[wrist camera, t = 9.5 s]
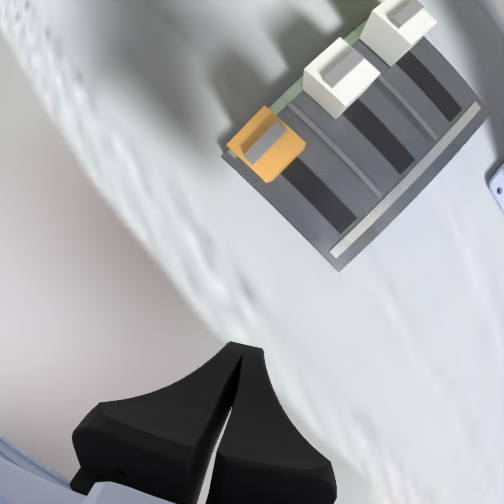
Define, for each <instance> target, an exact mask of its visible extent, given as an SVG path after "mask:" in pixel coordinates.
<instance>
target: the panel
mask: <svg viewBox="0 0 504 504" xmlns="http://www.w3.org/2000/svg"><path fill="white" fill-rule="evenodd" d="M368 18H369V17H368ZM368 18H367V19H365V20H364V21H363V22H362V23H360V24H359V25H358V26H357V27H356V28H354V29H353V30H352V31H351V32H350V33H348V34H347V35H346V36H345V37H344V38H343V40H344V41H345V42H347V43H348V44H349V45H350V46H351V47H352V48H354V49H355V50H356V51H358V52H359V53H360V54H361V55H362V56H363V57H364V58H365V59H366V60H367V61H368V62H369V63H370V64H372V65H373V66H374V67H375V68H376V69H377V70H378V71H379V72H380V74H379V76H378V77H377V78H376V79H375V80H374V81H373V82H372V84H371V85H370V86H369V87H368V88H367V89H366V90H365V92H364V93H363V94H362V95H360V96H359V97H358V98H357V99H356V100H355V101H354V102H353V103H352V104H351V105H350V106H349V107H348V108H347V109H346V110H345V111H344V112H343V113H342V114H341V115H340V116H339V117H338V118H337V119H336V120H335V119H334V118H333V117H332V116H331V115H330V114H329V113H328V112H327V111H326V110H325V109H324V108H323V107H322V106H320V105H319V104H318V103H317V102H316V101H315V100H314V99H313V98H312V97H311V96H309V95H308V94H307V93H306V92H305V91H304V90H303V77H304V73H303V74H302V75H301V76H300V77H299V78H298V79H297V80H296V81H295V82H294V83H293V84H292V85H291V86H290V87H289V88H288V89H287V90H285V91H284V92H283V93H282V94H281V95H280V96H279V97H278V98H277V99H276V100H275V101H274V102H273V103H272V104H271V105H270V106H269V107H268V109H270V110H271V111H272V112H273V113H274V114H275V115H276V116H277V117H279V118H280V119H281V120H282V121H283V122H284V123H285V124H286V125H287V126H288V127H290V128H291V129H292V130H293V131H294V132H295V133H296V134H297V135H298V136H299V137H300V138H301V139H302V140H303V141H304V142H305V143H306V145H305V148H304V150H303V151H302V152H301V153H300V154H299V155H298V156H297V157H296V158H295V159H294V160H293V161H292V162H291V163H290V164H289V165H288V166H287V167H286V168H285V169H284V170H283V171H282V172H281V173H280V174H279V175H278V176H277V177H276V178H275V179H274V180H273V181H271V182H268V183H266V182H265V181H264V180H263V179H262V178H261V177H260V176H259V175H258V174H257V173H255V172H254V171H253V170H252V169H251V168H250V167H249V166H248V165H247V164H246V163H245V162H244V161H243V160H242V159H241V158H240V157H238V156H237V155H236V154H235V153H234V152H233V151H232V150H231V149H230V148H228V149H227V151H226V152H225V153H224V154H223V155H222V156H221V157H222V158H223V159H224V160H225V161H226V162H227V163H228V164H229V165H230V166H231V167H232V168H234V169H235V170H236V171H237V172H238V173H239V174H240V175H241V176H242V177H243V178H244V179H245V180H246V181H247V182H248V183H249V184H250V185H251V186H252V187H254V188H255V189H256V190H257V191H258V192H259V193H260V194H261V195H262V196H263V197H264V198H265V199H266V200H267V201H268V202H269V203H270V204H271V205H272V206H273V207H274V208H275V209H276V210H277V211H278V212H279V213H280V214H281V215H282V216H283V217H284V218H285V219H286V220H287V221H288V222H289V223H290V224H291V225H292V226H293V227H294V228H295V229H296V230H297V231H298V232H299V233H300V234H301V235H302V236H303V237H304V238H305V239H306V240H307V241H308V242H309V243H310V244H311V245H312V246H313V247H314V248H315V249H316V250H317V251H318V252H319V253H320V254H321V255H322V256H323V257H324V258H325V259H326V260H327V261H328V262H329V263H330V264H331V265H332V266H333V267H334V268H335V269H336V270H337V271H338V272H340V271H341V270H342V269H343V268H344V267H345V266H346V265H347V264H348V263H349V262H350V261H352V260H353V259H354V258H355V257H356V256H357V255H358V254H359V253H360V252H361V251H362V250H363V249H364V248H365V247H366V246H367V245H368V244H369V243H370V242H372V241H373V240H374V239H375V238H376V237H377V236H378V235H379V234H380V233H381V232H382V231H383V230H384V229H385V228H386V227H387V226H388V225H389V224H390V223H391V222H392V221H393V220H394V219H395V218H396V217H397V216H398V215H399V214H400V213H401V212H402V211H403V210H404V209H405V208H406V207H407V206H408V205H409V204H410V203H411V202H412V201H413V200H414V199H415V198H416V197H417V195H418V194H419V193H420V192H421V191H422V190H423V189H424V188H425V187H426V186H427V185H428V184H429V183H430V182H431V181H432V180H433V179H434V178H435V176H436V175H437V174H438V173H439V172H440V171H441V170H442V169H443V168H444V167H445V166H446V165H447V163H448V162H449V161H450V160H451V159H452V158H453V157H454V156H455V155H456V153H457V152H458V151H459V150H460V149H461V148H462V147H463V146H464V144H465V143H466V142H467V141H468V140H469V139H470V138H471V136H472V135H473V134H474V133H475V132H476V131H477V129H478V128H479V127H480V126H481V125H482V123H483V122H484V121H485V120H486V119H487V117H488V116H489V115H490V112H489V111H488V110H487V108H486V107H485V106H484V104H483V103H482V102H481V100H480V99H479V98H478V96H477V95H476V94H475V93H474V91H473V90H472V89H471V88H470V86H469V85H468V84H467V83H466V81H465V80H464V79H463V78H462V77H461V76H460V74H459V73H458V72H457V71H456V70H455V69H454V67H453V66H452V65H451V64H450V63H449V62H448V61H447V60H446V59H445V58H444V56H443V55H442V54H441V53H440V52H439V51H438V50H437V49H436V48H435V47H434V46H433V45H432V44H431V43H430V42H429V41H428V40H427V39H426V38H425V37H424V36H423V37H422V38H421V39H420V40H419V41H418V42H417V43H416V44H415V45H414V46H413V47H412V48H411V49H410V50H409V51H408V52H406V53H405V54H404V55H403V56H402V57H401V58H400V59H399V60H398V61H397V62H396V63H395V64H393V65H392V66H391V67H390V66H389V65H388V64H387V63H386V62H385V61H384V60H383V59H382V58H381V57H380V56H379V55H377V54H376V53H375V52H374V51H373V50H372V49H371V48H370V47H369V46H367V45H366V44H365V43H364V42H363V41H362V40H361V39H359V38H360V35H361V33H362V31H363V29H364V27H365V25H366V23H367V20H368Z"/></svg>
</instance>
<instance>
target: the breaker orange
mask: <svg viewBox="0 0 504 504" xmlns="http://www.w3.org/2000/svg"><path fill="white" fill-rule="evenodd" d="M305 145H306V143H305V142H304V141H303V140H302V139H301V138H300V137H299V136H298V135H297V134H296V133H295V132H294V131H293V130H292V129H291V128H290V127H288V126H287V125H286V124H285V123H284V122H283V121H282V120H281V119H280V118H279V117H277V116H276V115H275V114H274V113H273V112H272V111H271V110H270V109H268V108H267V107H266V106H265V105H264V106H263V107H262V108H261V109H260V110H259V111H258V112H257V113H256V114H255V115H254V116H253V117H252V118H251V119H250V120H249V122H248V123H247V124H246V125H245V126H244V127H243V128H242V129H241V130H240V131H239V132H238V133H237V134H236V135H235V136H234V137H233V138H232V139H231V140H230V141H229V142H228V144H227V146H228V147H229V148H230V149H231V150H232V151H233V152H234V153H235V154H236V155H237V156H238V157H240V158H241V159H242V160H243V161H244V162H245V163H246V164H247V165H248V166H249V167H250V168H251V169H252V170H253V171H254V172H255V173H257V174H258V175H259V176H260V177H261V178H262V179H263V180H264V181H265V182H266V183H268V182H271V181H273V180H274V179H275V178H276V177H277V176H278V175H279V174H280V173H281V172H282V171H283V170H284V169H285V168H286V167H287V166H288V165H289V164H290V163H291V162H292V161H293V160H294V159H295V158H296V157H297V156H298V155H299V154H300V153H301V152H302V151H303V150H304V148H305Z"/></svg>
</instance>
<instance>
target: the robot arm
mask: <svg viewBox="0 0 504 504" xmlns="http://www.w3.org/2000/svg"><path fill="white" fill-rule="evenodd" d="M497 188H499V193H497ZM489 189H490V190H491V192H492V194H493V195H494V197H495V199H496V200H497V202H498V204H499V205H500V207H501V209H502V210H503V212H504V163H503V164H502V165H501V167H500V168H499V169H498V170H497V172H496V173H495V174H494V175H493V177H492V178H491V179H490V181H489ZM231 407H232V409H231ZM230 410H231V414H230V417H229V420H228V422H227V425H226V428H225V431H224V434H223V436H222V439H221V442H220V444H219V447H218V449H217V453H216V458H215V463H214V468H213V473H212V479H211V484H210V489H209V494H208V497H207V500H206V503H205V504H334V502H335V500H336V498H337V486H336V480H335V476H334V472H333V468H332V465H331V462H330V461H329V460H328V459H327V458H325V457H324V456H323V455H322V454H321V453H319V452H318V451H317V450H316V449H315V448H314V447H312V446H311V445H310V444H309V443H308V441H307V440H306V439H305V438H304V437H303V436H302V435H301V434H300V432H299V431H298V430H297V429H296V427H295V426H294V425H293V424H292V422H291V421H290V419H289V418H288V416H287V415H286V413H285V411H284V410H283V408H282V406H281V405H280V403H279V400H278V398H277V396H276V394H275V392H274V389H273V387H272V384H271V382H270V379H269V376H268V372H267V369H266V365H265V359H264V351H263V349H262V348H258V347H253V346H249V345H244V344H240V343H235V342H231V341H230V342H228V343H227V344H226V345H225V346H224V347H223V348H222V349H221V350H220V351H219V352H218V353H217V354H216V355H215V356H214V357H212V358H211V359H210V360H209V361H207V362H206V363H205V364H204V365H202V366H201V367H200V368H198V369H197V370H195V371H194V372H192V373H191V374H189V375H188V376H186V377H184V378H183V379H181V380H179V381H177V382H175V383H173V384H171V385H169V386H167V387H164V388H162V389H159V390H157V391H154V392H151V393H148V394H145V395H141V396H138V397H133V398H129V399H124V400H117V401H109V402H100V403H99V404H98V405H97V406H96V407H94V408H93V409H92V410H91V411H90V412H89V413H88V414H87V415H86V416H85V418H84V419H83V420H82V421H81V423H80V424H79V425H78V426H77V427H76V429H75V430H74V431H73V434H72V442H73V446H74V448H75V452H76V455H77V457H78V460H79V463H80V466H81V468H80V469H79V471H78V472H77V473H76V475H75V476H74V478H73V479H72V480H70V479H68V478H66V477H65V476H63V475H61V474H59V473H58V472H56V471H54V470H52V469H51V468H49V467H47V466H46V465H44V464H43V463H41V462H39V461H38V460H36V459H35V458H33V457H31V456H30V455H28V454H27V453H25V452H24V451H23V450H21V449H20V448H18V447H17V446H15V445H14V444H13V443H11V442H10V441H8V440H7V439H6V438H4V437H3V436H1V435H0V504H197V501H198V498H199V494H200V491H201V488H202V485H203V481H204V478H205V475H206V472H207V468H208V465H209V462H210V459H211V455H212V453H213V450H214V447H215V445H216V443H217V440H218V438H219V436H220V433H221V431H222V429H223V426H224V424H225V421H226V419H227V417H228V414H229V412H230Z"/></svg>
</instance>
